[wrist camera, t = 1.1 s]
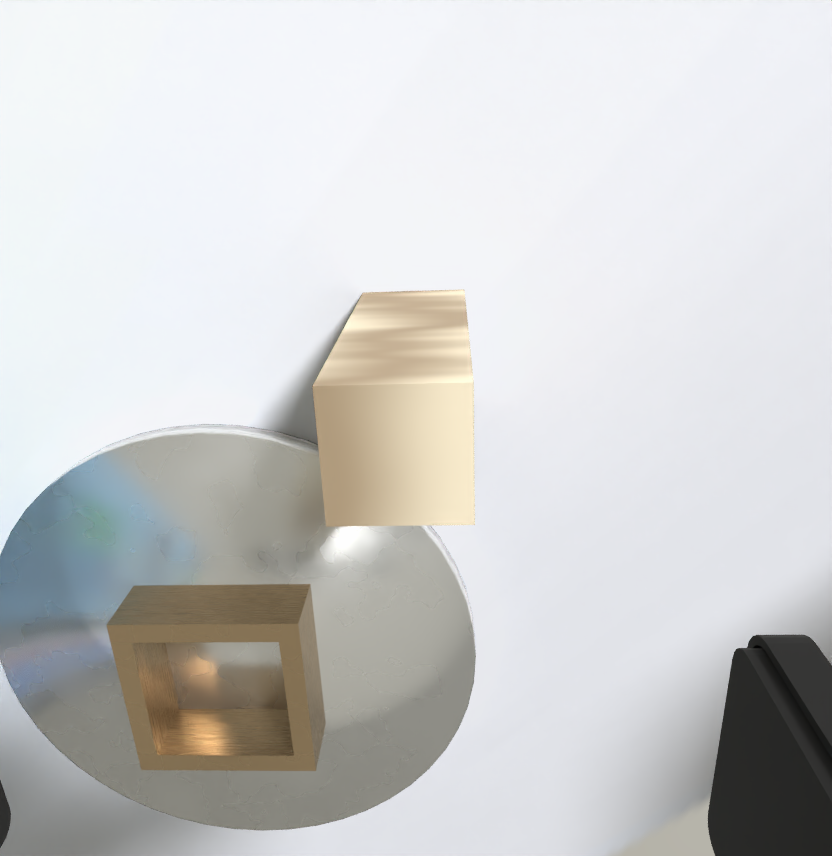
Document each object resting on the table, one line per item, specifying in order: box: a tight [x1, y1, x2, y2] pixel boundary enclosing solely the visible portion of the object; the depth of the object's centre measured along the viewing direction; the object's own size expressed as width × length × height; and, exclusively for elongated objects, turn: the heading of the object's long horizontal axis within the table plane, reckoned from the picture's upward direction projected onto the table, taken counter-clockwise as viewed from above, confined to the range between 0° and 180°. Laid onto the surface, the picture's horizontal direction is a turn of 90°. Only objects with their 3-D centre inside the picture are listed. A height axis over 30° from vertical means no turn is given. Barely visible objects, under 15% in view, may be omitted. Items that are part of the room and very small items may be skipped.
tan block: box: [312, 290, 475, 527], centre depth 21 cm, size 4×4×10 cm
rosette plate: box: [0, 424, 476, 830], centre depth 29 cm, size 20×20×4 cm
